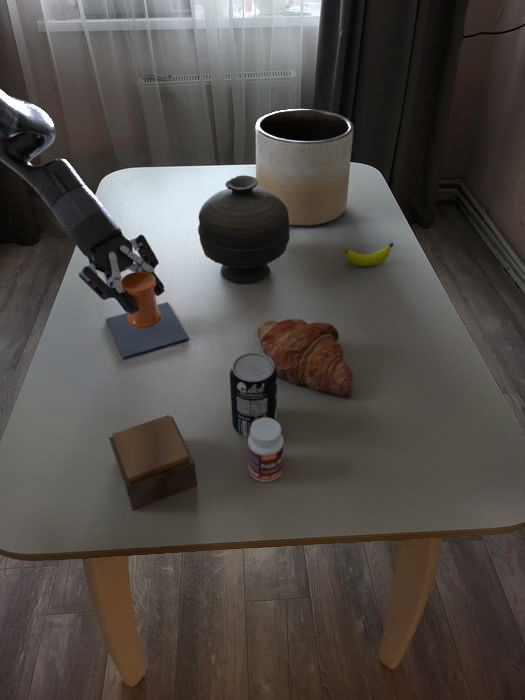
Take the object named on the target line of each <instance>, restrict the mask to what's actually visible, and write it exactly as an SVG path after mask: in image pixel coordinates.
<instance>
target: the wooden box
mask: <svg viewBox="0 0 525 700" xmlns="http://www.w3.org/2000/svg"><path fill="white" fill-rule="evenodd" d="M111 434H112V436H109V437H108V440H109V443H110V447H111V451H112V454H113V458H114V461H115V464H116V467H117V470H118V473H119V475H120V479H121V481H122V484H123V487H124V489H125V493H126V496H127V499H128V502H129V504H130V507H131V511H135V510H137V509H140V508H142V507H145V506H148V505H151V504H153V503H155V502H159V501H161V500H164V499H166V498H169V497H171V496H174V495H176V494H179V493H181V492H184V491H187V490H189V489H192V488H195V487H197V486H198V480H197V479H198V478H197V472H196V471H197V470H196V465H195V464H196V463H195V460H194V458H193V456H192V454H191V452H190V450H189V448H188V445H187V444H186V442H185V439H184V438H183V436H182V434H181V431H180V430H179V427H178V425H177V423H176V421H175V419H174V416H172V415H171V416H170V414H167V415H164V416H162V417H158V418H156V419H152V420H150V421H147V422H143V423H140V424H137V425H133V426H132V427H128V428H126V429H123V430H120V431H119V430H118V431H117V432H114V433H111Z"/></svg>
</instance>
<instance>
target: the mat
mask: <svg viewBox="0 0 525 700" xmlns="http://www.w3.org/2000/svg"><path fill="white" fill-rule="evenodd" d="M157 308H158V309H159V310H160V313H161V319H160V321H159V322H158V323H157V324H156V325H155V326H152V327H150V328H144V329H140V328H135V327H133V326H131V325H130V324H129V322H128V318H127V316H128V313H127V312H126V313H122V314H117V315H113V316H111V317H106V318H105V322H106V324H107V326H108V329H109V331H110V333H111V336H112V338H113V340H114V342H115V346H116V347H117V349H118V352H119V355H120V357H121V358H122V360H126V359H129V358H133V357H136V356H137V357H138V356H141V355H143V354H147V353H150V352H153V351H157V350H160V349H163V348H168V347H170V346H173V345H177V344H180V343H184V342H187V341H190V337H189V334H188V333H187V331H186V330H185V328H184V327H183V325H182V322H180V320H179V318H178V317H177V315H176V313H175V311H174V310H173V308H172V307H171V305H170V303H169V302H168V301H167V302H163V303H159V304H157Z"/></svg>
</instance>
